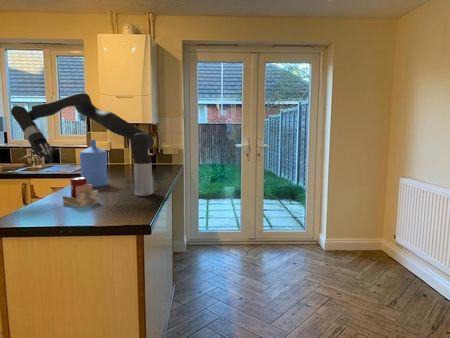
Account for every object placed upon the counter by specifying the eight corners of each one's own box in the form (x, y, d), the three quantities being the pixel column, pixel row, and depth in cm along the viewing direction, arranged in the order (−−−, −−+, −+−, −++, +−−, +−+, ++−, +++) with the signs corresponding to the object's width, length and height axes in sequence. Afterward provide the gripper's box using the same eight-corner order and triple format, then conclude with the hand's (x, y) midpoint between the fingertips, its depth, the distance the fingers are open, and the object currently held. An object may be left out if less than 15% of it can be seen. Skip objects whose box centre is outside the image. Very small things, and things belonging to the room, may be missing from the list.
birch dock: (83, 200, 163) (82, 188, 163) (98, 202, 158) (98, 190, 157) (63, 204, 154) (62, 191, 153) (78, 207, 148) (78, 194, 148)
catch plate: (91, 201, 158) (91, 184, 157) (93, 202, 158) (92, 184, 157) (76, 205, 151) (75, 186, 150) (77, 205, 151) (77, 187, 150)
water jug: (99, 188, 195) (97, 140, 191) (75, 186, 198) (73, 140, 194) (113, 183, 210) (111, 139, 206) (90, 182, 213) (89, 139, 209)
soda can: (91, 202, 159) (90, 177, 158) (81, 205, 152) (80, 180, 151) (78, 201, 161) (77, 176, 160) (67, 204, 154) (66, 179, 153)
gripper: (44, 141, 178) (60, 165, 173) (19, 142, 166) (35, 167, 162) (50, 131, 174) (66, 155, 170) (24, 131, 163) (40, 157, 159)
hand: (51, 161), depth 166 cm, fingers closed
